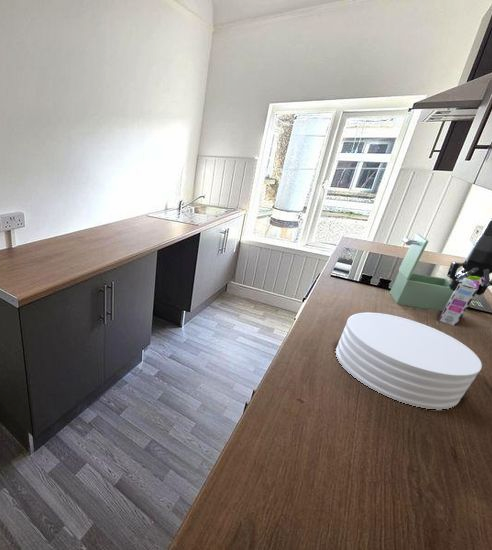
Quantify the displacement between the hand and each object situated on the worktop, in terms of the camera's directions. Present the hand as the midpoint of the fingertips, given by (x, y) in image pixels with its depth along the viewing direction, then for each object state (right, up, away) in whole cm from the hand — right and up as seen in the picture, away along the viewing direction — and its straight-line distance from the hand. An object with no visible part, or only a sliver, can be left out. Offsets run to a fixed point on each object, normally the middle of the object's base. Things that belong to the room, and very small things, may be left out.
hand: (464, 291), depth 108 cm
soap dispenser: (+19, -6, +20) cm, 28 cm away
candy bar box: (0, -12, +5) cm, 13 cm away
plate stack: (-46, -22, -21) cm, 55 cm away
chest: (0, -6, +19) cm, 20 cm away
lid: (-5, +14, +14) cm, 20 cm away
